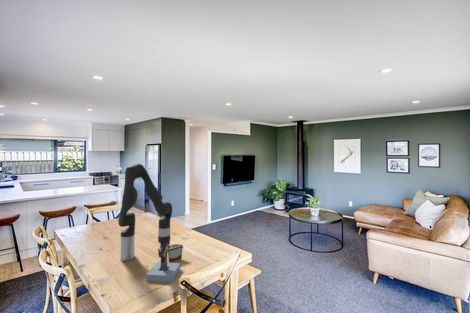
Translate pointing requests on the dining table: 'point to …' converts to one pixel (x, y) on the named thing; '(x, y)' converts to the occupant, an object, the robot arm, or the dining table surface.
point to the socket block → (163, 272)
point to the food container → (175, 252)
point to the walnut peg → (164, 265)
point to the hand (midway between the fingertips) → (164, 260)
